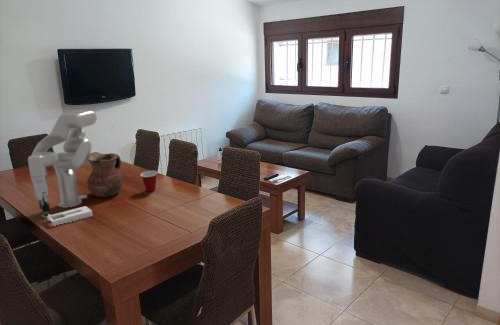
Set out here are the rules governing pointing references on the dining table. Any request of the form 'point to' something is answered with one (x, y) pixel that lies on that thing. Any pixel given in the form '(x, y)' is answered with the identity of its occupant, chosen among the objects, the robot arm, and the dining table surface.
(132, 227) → the dining table surface
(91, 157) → the jug
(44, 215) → the peg
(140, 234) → the dining table surface
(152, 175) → the plastic cup
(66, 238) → the dining table surface
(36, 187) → the robot arm
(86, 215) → the keyhole plate
